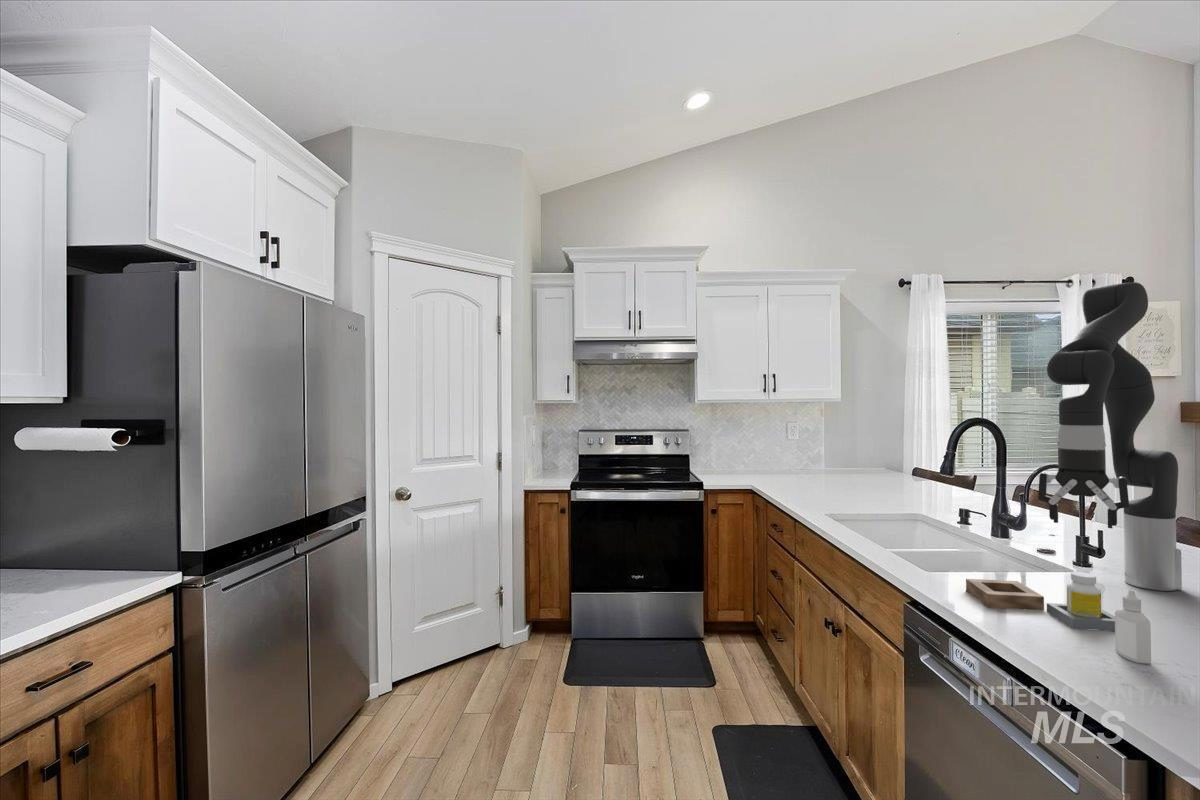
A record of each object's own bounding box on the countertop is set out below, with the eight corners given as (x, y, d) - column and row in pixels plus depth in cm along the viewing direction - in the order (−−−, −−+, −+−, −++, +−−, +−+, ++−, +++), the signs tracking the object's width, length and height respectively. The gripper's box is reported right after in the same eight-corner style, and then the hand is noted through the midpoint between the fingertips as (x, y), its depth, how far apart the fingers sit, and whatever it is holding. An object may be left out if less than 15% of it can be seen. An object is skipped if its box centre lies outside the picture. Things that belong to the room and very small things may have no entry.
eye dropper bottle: (1118, 660, 100) (1116, 592, 100) (1114, 648, 104) (1113, 583, 104) (1152, 666, 97) (1151, 597, 97) (1147, 655, 102) (1146, 588, 102)
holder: (1094, 614, 120) (1094, 605, 120) (1124, 631, 112) (1124, 621, 112) (1046, 612, 122) (1046, 603, 122) (1072, 628, 113) (1072, 618, 113)
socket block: (1017, 593, 134) (1017, 581, 134) (1044, 610, 123) (1043, 596, 123) (966, 591, 136) (966, 578, 136) (988, 607, 125) (987, 594, 125)
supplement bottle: (1108, 627, 114) (1107, 579, 114) (1077, 625, 115) (1076, 577, 115) (1090, 617, 119) (1089, 571, 119) (1061, 615, 120) (1060, 569, 120)
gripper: (1127, 447, 115) (1128, 526, 115) (1039, 444, 125) (1040, 517, 125) (1128, 449, 110) (1130, 533, 110) (1036, 446, 119) (1037, 523, 119)
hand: (1082, 524), depth 117 cm, fingers open, 8 cm apart
